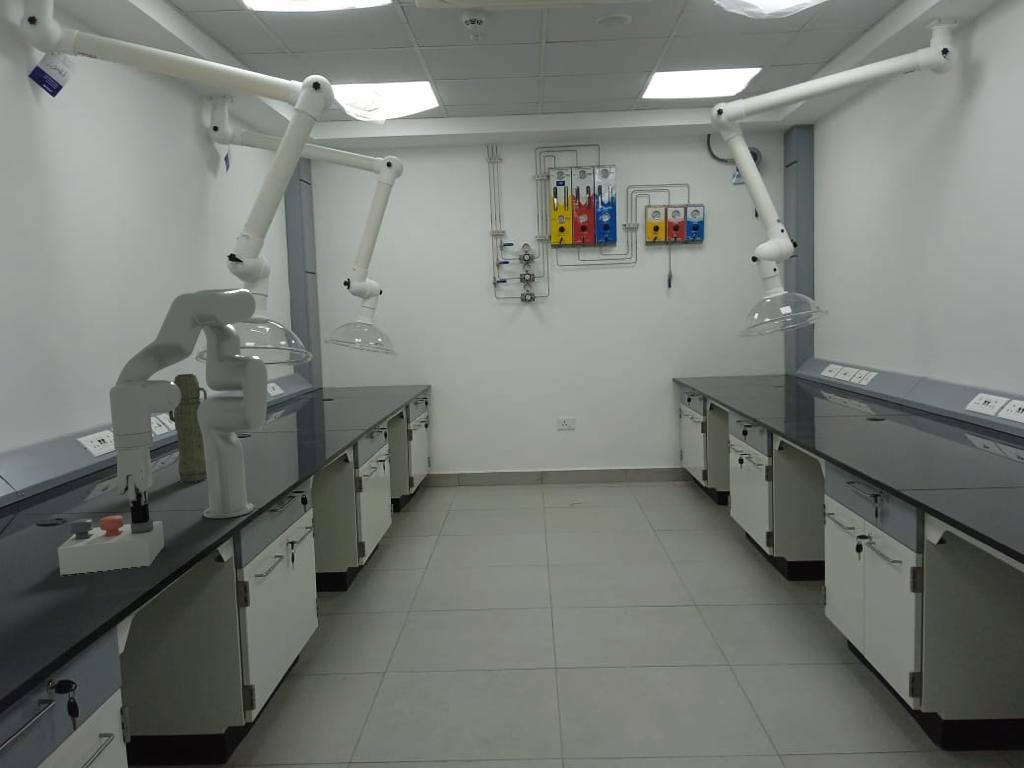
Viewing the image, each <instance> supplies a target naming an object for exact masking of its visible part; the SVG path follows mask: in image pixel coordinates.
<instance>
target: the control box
mask: <svg viewBox="0 0 1024 768" xmlns="http://www.w3.org/2000/svg"><path fill="white" fill-rule="evenodd" d="M153 528H154V529H153V530H152V531H149V532H146V533H139V534H134V533H131V524H130V523H129V524H128V523H127V524H123V527H121V528H119V535H118V536H108V537H107V535H106V530H101V528H100V526H97V527H93V530H91V531H88V533H89V539H80V540H76V534H72V536H71V537H70V538H68V539H67V540H66V541H65V542H64V543H62V544H61V545H60V546H58V547H57V555H58V556H57V557H58V564H59V573H60V574H59V575H60V576H61V575H62V574H75V573H85V574H87V573H86V572H94V573H98V572H97V571H103V572H108V571H107V570H111V571H115V570H114V569H120V570H123V569H122V568H128V569H132V568H131V567H137V568H142V567H141V566H146V567H150V566H151V565H152V563H154V561H155V559H156V558H157V557H156V556H158V555H159V554H160V553H161V551H162V550H163V548H164V547H165V540H164V539H165V538H164V528H163V520H157V521H153ZM163 546H164V547H163ZM161 549H162V550H161ZM158 553H159V554H158ZM155 557H156V558H155ZM153 560H154V561H153ZM150 564H151V565H150Z"/></svg>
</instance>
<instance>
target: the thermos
mask: <svg viewBox="0 0 1024 768" xmlns="http://www.w3.org/2000/svg"><path fill="white" fill-rule="evenodd" d="M173 383H174V384H176V385H177V386H178V387H179V389H180V391H181V401H180V403H179V405H178V406H177V407H176V408H175V409H174V410H172V411H170V412H168V415H169V416H168V417H169V419H168V420H170V421H171V422H173V423H174V427H175V428H174V429H175V431H176V435H177V444H178V445H177V446H178V454H179V456H178V457H179V462H178V464H177V466H178V474H179V478H180V479H179V481H182V482H194V483H197V482H196V481H200V482H203V481H202V480H204V481H206V480H205V479H207V472H206V460H205V449H204V441H203V436H202V432H201V429H200V425H199V422H198V417H197V411H198V407H199V405H200V404H201V403H202V402H201V399H200V397H201V394H200V392H201V391H202V392H203V398H204V399H203V401H204V400H206V399H208V395H207V390H206V389H205V388H204V387H201V386H200V382H199V379H198V377H197V375H196V374H193V373H183V374H177V375H175V377H174V381H173ZM182 482H181V483H182Z"/></svg>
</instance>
